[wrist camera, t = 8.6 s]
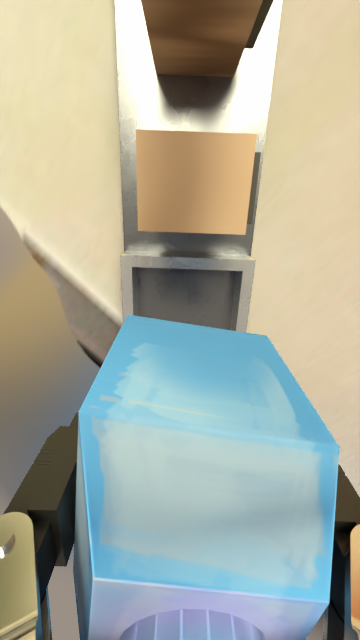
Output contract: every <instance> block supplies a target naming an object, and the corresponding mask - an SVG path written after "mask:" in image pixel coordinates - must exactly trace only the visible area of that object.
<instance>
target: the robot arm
mask: <svg viewBox="0 0 360 640" xmlns="http://www.w3.org/2000/svg"><path fill="white" fill-rule="evenodd" d="M78 415H79V412H77V413H76V415H75V416H74V419H73V420H72V422H71V424H70V426H69V427H65V426H64V427H63V426H60V427H59V428H58V429H57V430H56V431H55V432H54V433H52V434H51V435H50V436H49V437H48V438H47V440H46V442H45V444H44V445H43V447H42V449H41V452H40V453H39V454H38V456H37V457H36V459H35V461H34V464H33V465H32V466H31V468H30V470H29V471H28V473H27V475H26V476H25V478H24V480H23V482H22V483H21V485H20V487H19V489H18V490H17V492H16V494H15V495H14V497H13V499H12V501H11V502H10V504H9V506H8V508H7V509H6V511H5V512H4V513H3V515H1V516H0V640H52V632H51V620H50V608H49V597H48V587H47V586H48V583H49V580H50V577H51V574H52V571H53V568H54V566H67V563H68V560H69V556H70V553H71V550H72V547H73V544H74V541H75V505H76V475H77V445H78ZM323 640H360V497H359V496H358V494H357V492H356V491H355V489H354V488H353V486H352V484H351V483H350V481H349V479H348V478H347V476H345V473H344V471H343V470H342V468H341V466H340V465H339V464H338V477H337V492H336V507H335V523H334V538H333V553H332V569H331V584H330V599H329V605H328V606H327V608H326V609H325V611H324V626H323Z"/></svg>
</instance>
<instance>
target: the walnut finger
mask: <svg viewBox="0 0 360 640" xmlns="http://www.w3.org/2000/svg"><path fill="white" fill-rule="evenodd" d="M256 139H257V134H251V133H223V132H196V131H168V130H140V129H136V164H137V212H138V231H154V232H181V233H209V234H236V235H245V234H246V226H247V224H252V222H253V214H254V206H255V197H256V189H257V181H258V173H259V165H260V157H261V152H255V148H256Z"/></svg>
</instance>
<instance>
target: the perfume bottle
mask: <svg viewBox="0 0 360 640" xmlns="http://www.w3.org/2000/svg"><path fill="white" fill-rule="evenodd" d="M338 462H339V445H338V444H337V442H336V441H335V439H334V438H333V436H332V434H331V433H330V431H329V430H328V428H327V427H326V425H325V424H324V422H323V421H322V419H321V418H320V416H319V415H318V413H317V412H316V410H315V409H314V407H313V406H312V404H311V402H310V401H309V399H308V398H307V396H306V395H305V393H304V392H303V390H302V389H301V387H300V386H299V384H298V383H297V381H296V380H295V378H294V377H293V375H292V373H291V372H290V370H289V369H288V367H287V366H286V364H285V363H284V361H283V360H282V358H281V357H280V355H279V354H278V352H277V351H276V349H275V348H274V346H273V344H272V343H271V341H270V340H269V338H268V337H267V336H264V335H258V334H251V333H245V332H238V331H232V330H225V329H219V328H212V327H206V326H199V325H192V324H186V323H179V322H173V321H166V320H160V319H153V318H147V317H140V316H134V315H127V317H126V319H125V321H124V323H123V325H122V327H121V329H120V331H119V333H118V335H117V337H116V339H115V341H114V343H113V345H112V347H111V349H110V351H109V353H108V355H107V357H106V359H105V361H104V363H103V365H102V367H101V369H100V370H99V373H98V374H97V377H96V379H95V380H94V382H93V384H92V386H91V389H90V391H89V392H88V395H87V396H86V398H85V400H84V402H83V404H82V406H81V408H80V410H79V415H78V445H77V475H76V505H75V541H74V565H73V566H74V567H73V573H74V583H75V593H76V603H77V614H78V623H79V633H80V640H305V639H306V637H307V636H308V635H309V633H310V632H311V630H312V629H313V627H314V626H315V624H316V623H317V621H318V619H319V618H320V617H321V615H322V614H323V612H324V611H325V609H326V608H327V606H328V605H329V599H330V584H331V569H332V553H333V538H334V523H335V507H336V492H337V477H338Z"/></svg>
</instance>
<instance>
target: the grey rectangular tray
mask: <svg viewBox="0 0 360 640" xmlns="http://www.w3.org/2000/svg"><path fill="white" fill-rule="evenodd" d="M281 8H282V0H274V1H273V3H272V6H271V8H270V10H269V12H268V15H267V17H266V19H265V22H264V24H263V26H262V29H261V31H260V33H259V36H258V38H257V40H256V43H255V45H254V47H253V49H244V52H243V54H242V57H241V59H240V62H239V65H238V67H237V70H236V73H235V75H234V77H221V76H193V75H165V74H156V71H155V66H154V61H153V56H152V51H151V47H150V42H149V37H148V32H147V27H146V23H145V18H144V13H143V8H142V3H141V0H115V23H116V49H117V75H118V100H119V126H120V152H121V177H122V203H123V229H124V253H123V254H121V255H120V263H121V285H122V307H123V323H124V321H125V319H126V317H127V315H134V316H140V317H147V318H153V319H160V320H166V321H173V322H179V323H186V324H192V325H199V326H206V327H212V328H219V329H225V330H232V331H238V332H245V333H246V328H247V321H248V313H249V306H250V298H251V291H252V283H253V276H254V268H255V261H256V260H255V259H253V258H252V257H250V256H251V248H252V240H253V232H254V224H255V216H256V208H257V200H258V192H259V184H260V176H261V168H262V160H263V152H264V144H265V136H266V128H267V120H268V112H269V104H270V96H271V88H272V80H273V72H274V64H275V56H276V48H277V40H278V32H279V24H280V16H281ZM136 129H140V130H168V131H196V132H223V133H251V134H257V139H256V148H255V152H261V157H260V165H259V173H258V181H257V189H256V197H255V206H254V214H253V222H252V224H247V226H246V234H245V235H236V234H209V233H181V232H154V231H138V212H137V164H136Z"/></svg>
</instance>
